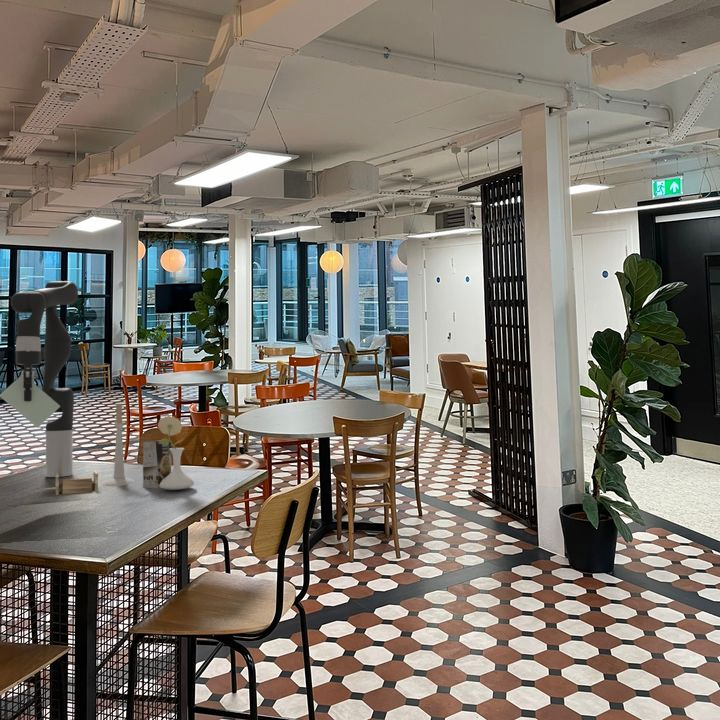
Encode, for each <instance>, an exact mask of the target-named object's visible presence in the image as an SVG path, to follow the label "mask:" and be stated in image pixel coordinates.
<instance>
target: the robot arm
mask: <svg viewBox="0 0 720 720" xmlns="http://www.w3.org/2000/svg"><path fill="white" fill-rule="evenodd" d="M78 291H79V290H78V286H77V284H75V283H74V282H73V281H71V280H70V281H69V280H64V281H63V280H53V281H47V283H46V284H45V287H44V288H39V289H35V290H30V291H18V292H15V293H14V294H13V295H12V297H11V298H10V306H11V308H12V310H13V311H15V312H16V313H18V314H30V316H29V317H27V318H23V319H20V320H18V321H17V323H16V341H15V365H19V366H20V365H21V366H23V369H21V370H20V371H21V375H22V383H24V386H23V389H24V401H31V400H32V383H34V384H35V374H36V370H35V369H33V366H36V365H37V366H38V365H40V364H41V362H42V361H41V357H42V355H41V354H42V353H41V351H42V345H41V344H42V343H41V323H42V319H43V316H44V313H45V333H44V363H43V365H44V366H43V367H44V368H43V370H44V371H43V380H42V389H41V390H42V391H43V392H45V393H46V394H47V395H48V396H49V397H50V398H51V399H53V400H54V401H55V402H56V403H57V404H58V405H60V407H59V408H58V409H57V410H56V411H55V412H54V413H62V414H61V416H60V417H59V418H57V419H56V420H53V421H50V422H47V423H46V425H45V477H46V478H56V473H58V475H59V478H61V477H70V476H72V475H73V464H74V463H73V457H74V455H73V453H74V452H73V451H74V448H73V444H74V443H73V442H74V441H73V438H74V437H73V436H74V434H73V432H74V431H73V430H74V429H73V427H74V405H75V394H74V391H73V389H72V388H69V387H62V388H61V387H58V388H57V387H55V388H54V386H55V383H56V379H57V376H58V375H59V373H60V372H61V370H62V369H63V367H64V366H65V365H66V363H67V362H68V360H69V358H70V357H71V354H72V337H71V334H70V333H69V331H68V329H66V327H65V325H64V323H62V320H61V319H60V316H59V314H58V306H67V305H73V304H75V303H76V302H77V300H78V297H79V292H78ZM26 383H30V384H26ZM54 413H53V414H54Z"/></svg>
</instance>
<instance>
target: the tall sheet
mask: <svg viewBox="0 0 720 720" xmlns="http://www.w3.org/2000/svg"><path fill="white" fill-rule="evenodd" d="M26 384H30V383H26ZM23 386H24V383H22V374H21V375H20V376H19V377H17V379H16V380H15V381H13V382H12V383H11V384H10V385H9V386H8V387H7V388H6V389H5V390H3V391H2V392H1V393H0V398H1V399H2V400H4V402H6V403H7V404H8V405H9V406H10V407H12V408H13V409H14V410H15V411H17V413H19V414H20V415H21V416H22V417H24V418H25V419H26V420H27V421H29V422H30V423H31V425H33V426H34V427H36V428H39V427H41V425H43V423H44V422H46V420H47V419H49V418H50V417H51V416H52V415H53V414H54V412H55V411H56V410H57V409H58V408H59V407H60V405H58V404H57V403H56V402H55V401H54V400H53V399H51V398H50V397H49V396H48V395H47V394H46V393H45V392H43V391H42V389H41V387H39V386H38V385H36V384H35V382H34V383H32V400H31V401H24V389H23Z"/></svg>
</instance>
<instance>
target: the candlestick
mask: <svg viewBox="0 0 720 720" xmlns="http://www.w3.org/2000/svg"><path fill="white" fill-rule="evenodd" d="M115 409H116V410H115V416H116V417H115V420H116V421H113V423H114V425H115V428H116V431H115V433H116V434H115V447H114V448H115V449H114V450H115V451H114V453H115V454H114V469H113V470H114V471H113V476H112V477H113V478H110V479H107V480H104V481H103V482H101V485H102V486H104V487H120V486H126V485H130V484H133V483H135V482H136V480H135V479H133V478H130V477H126V476H125V463H124V461H125V459H124V445H123V431H122V428H123V427H124V423H125V421H123V404H122V403H116V404H115Z"/></svg>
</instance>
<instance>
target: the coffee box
mask: <svg viewBox="0 0 720 720" xmlns="http://www.w3.org/2000/svg"><path fill="white" fill-rule="evenodd" d="M160 440H161V439H159V440H148V441H143V443H142V446H143V447H142V448H143V450H142V454H143V456H142V488H149V489H150V488H151V489H155V488H156V489H159V488H161V487H160V486H159V485H160V483H161V482H162V480H163V479H165V478H166V477H167V476H168V475H169V474H170V473H171V472H172V453H171V451H170V450H169V449H170V448H172V444H171V442H172V441H171V442H169V443H168V444H167V445H163V444H158V443H159V441H160Z"/></svg>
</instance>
